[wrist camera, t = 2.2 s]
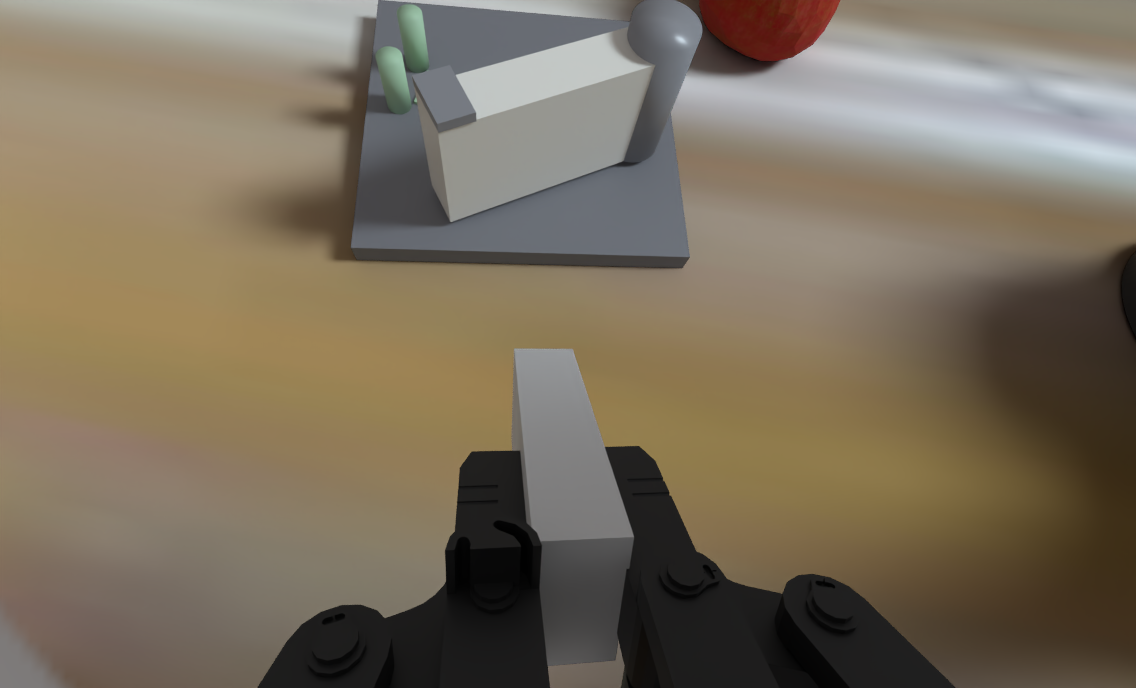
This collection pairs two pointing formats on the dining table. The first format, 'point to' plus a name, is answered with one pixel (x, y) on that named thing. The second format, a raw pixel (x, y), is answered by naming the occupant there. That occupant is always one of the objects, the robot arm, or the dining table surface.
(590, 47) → the white slab
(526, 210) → the dial plate
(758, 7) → the apple
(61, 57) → the dining table surface
